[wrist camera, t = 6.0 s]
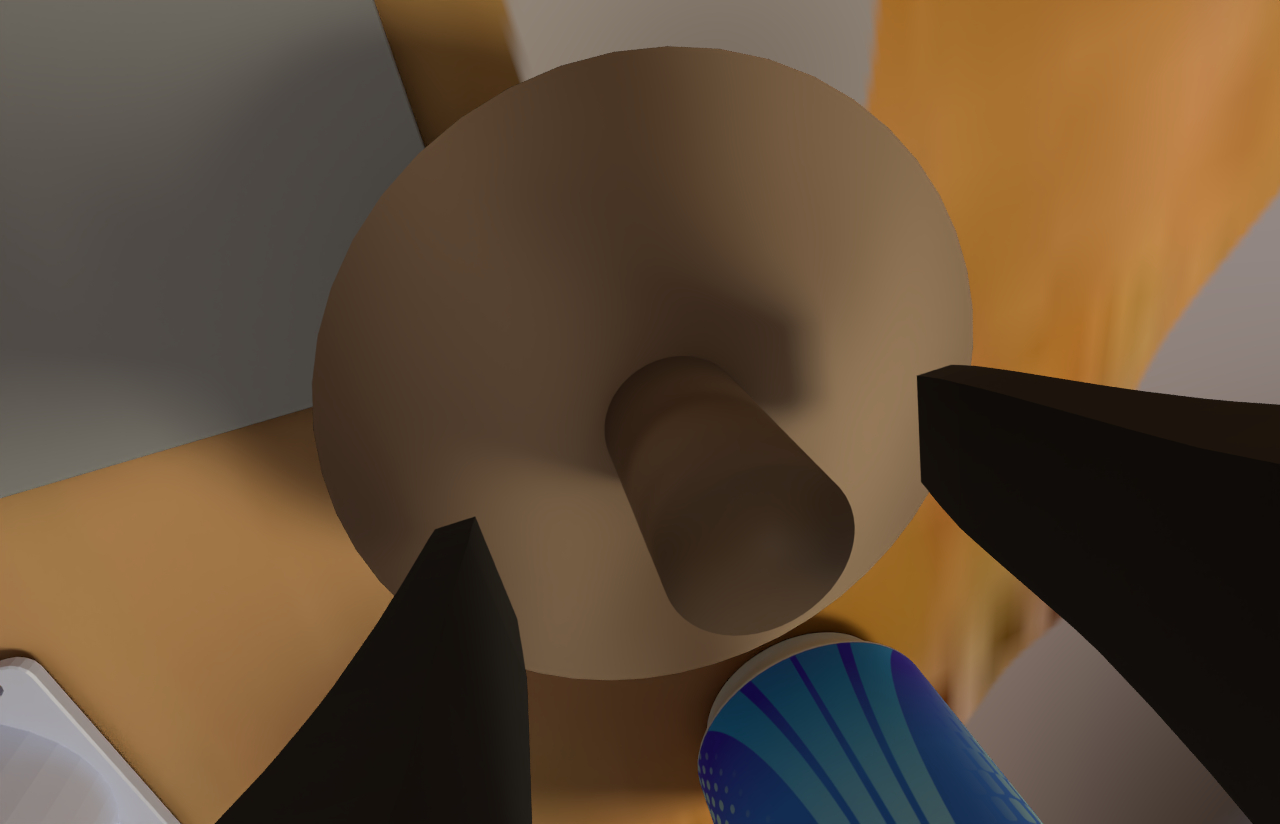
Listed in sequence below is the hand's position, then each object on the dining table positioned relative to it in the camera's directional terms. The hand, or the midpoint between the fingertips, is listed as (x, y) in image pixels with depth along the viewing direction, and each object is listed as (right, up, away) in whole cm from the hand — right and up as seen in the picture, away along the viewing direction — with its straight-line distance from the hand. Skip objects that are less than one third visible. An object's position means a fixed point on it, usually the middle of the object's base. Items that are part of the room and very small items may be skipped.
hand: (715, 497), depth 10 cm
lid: (-1, +1, +2) cm, 3 cm away
